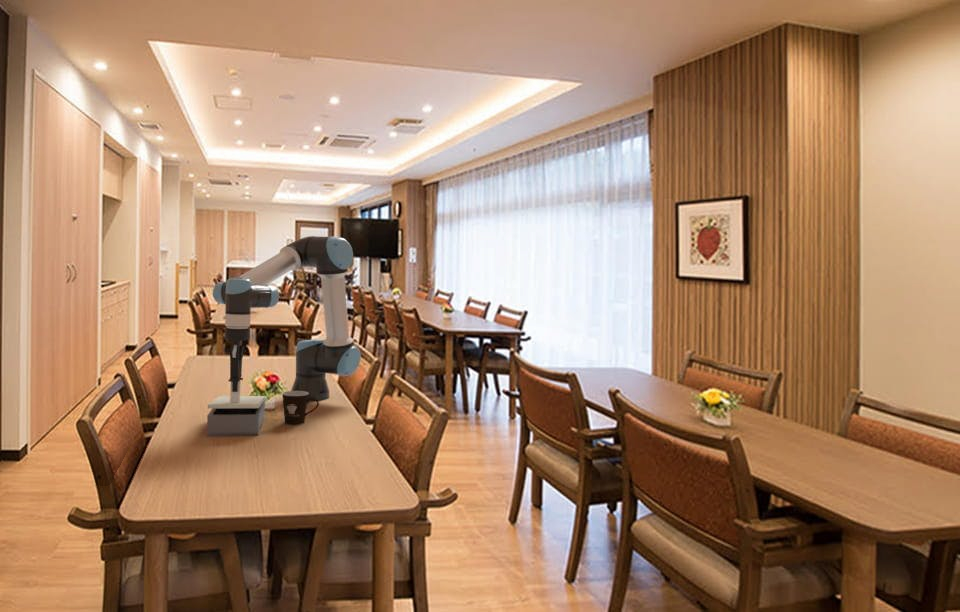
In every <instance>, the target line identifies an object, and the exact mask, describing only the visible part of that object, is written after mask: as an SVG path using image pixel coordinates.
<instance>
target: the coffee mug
mask: <svg viewBox="0 0 960 612" xmlns="http://www.w3.org/2000/svg"><path fill="white" fill-rule="evenodd" d="M281 394H282V403H283V415H284V416H283V417H284V423H285V424H286V425H289V426H290V425H293V426H294V425H295V426H296V425H302V424H305V421H306V417H307V415H309V414H310V413H313V412H314V411H315V410H317V408H318V407H319V405H320V403H319V400H317V399H316V398H310V399H308V394H309V393H308V392H305V391H291V390H289V391H283V392H282V393H281ZM312 399H313V400H312ZM310 401H315V402H316V406H315V407H314V408H313V409H311V410H310V411H308V412H307V408H308V407H307V406H308V404H309V402H310Z"/></svg>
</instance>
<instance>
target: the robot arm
mask: <svg viewBox="0 0 960 612" xmlns="http://www.w3.org/2000/svg"><path fill="white" fill-rule="evenodd" d="M353 261H354V252H353V248H352V245H351V244H350V242H349V241H348V240H346V239H345V238H344V237H338V236H337V237H336V236H315V235H312V236H306V237H305V236H304V237H302V238H299V239H297V240H294V241H292V242H290V243H289V244H287V245H285V246H283V247H282V248H280V250H279V253H277V254H275V255H274V256H272V257H270V258H268V259H266V260H265V261H263V262H261V263H259V264H258V265H256V266H255V267H253V268H251V269H249V270H248V271H246V272H244V273H243V274H241V275H240V276H237V277H236V278H233V277H231V278H228V279H227V280H226V281H221V282H218V283H216V284H215V285H214V287H213V289H212V297H213V299H214V301H215V303H218V304H220V305H224V307H225V316H223V317H222V319H223V320H225V321H224V326H225V328H224V337H223V338H224V340H226V341H231V344H230V345H229V349H228V350H229V365H230V366H229V379H228V382H230V395H229V396H230V402H239V401H240V396H241V384H242V383H241V381H243V380H244V378H243V377H242V367H243V358H244V350H245V345H243V341H249V340H250V336H251V329H250V327H251V319H252V318H251V316H252V315H251V310H252V309H260V308H261V309H262V308H264V309H268V308H272V307H273V308H274V307H275V306H276V305H277V304H278V303H279V299H280V293H279V290H278V289H277V287H276V286H275V285H272V284H271V283H272V282H274V281H276V280H277V279H279V278H280V277H282V276H285V274H287V273H289V272H290V271H297V270H299V269H300V268H307V267H310V268H316V269H315V270H316V275H317V276H319V277H320V279H321V291H322V302H323V314H324V325H325V336H326V338H317V339H316V338H314V339H305V340H300V341H298V342H297V344H296V349H295V350H296V351H295V379H294V381H293V384H292V387H291V390H290V391H305V392H308V393H309V394H308V399H310V398H316V399H317V400H318V401H320V400H326V399H328V398H330V388H329V385H328V381H327V378H326V374H331V375H337V376H340V377H341V376H347V377H348V376H351V375H352V374H354V373H355V372H356V371H357V369H358V367H359V365H360V363H361V358H362V357H361V356H362V355H361V350H360V349H359V347H357V346H356V345H354V344H355V343H354V338H352V337H351V336H350V333H349V331H350V329H349V320H348V309H347V295H346V285H345V284H346V283H345V276H346V274H347V273H349V272H348V271H349V270H348V269H349V268H350V267H351V266H352V265H353ZM311 401H314V400H313V399H312V400H311Z"/></svg>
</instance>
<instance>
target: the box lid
mask: <svg viewBox="0 0 960 612" xmlns="http://www.w3.org/2000/svg"><path fill="white" fill-rule="evenodd" d="M264 400H265V401H266V396H265V395H240V401H239V402H230V395H221V396H220V395H219V396H217V397H216V398H214V399H213V400H212V401H211V402H209V403H208V404H207V409H212V408H259V407H260V406H261V404H262V403H263V402H264Z"/></svg>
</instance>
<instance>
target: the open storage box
mask: <svg viewBox="0 0 960 612" xmlns="http://www.w3.org/2000/svg"><path fill="white" fill-rule="evenodd" d="M265 404H266V399H265V400H264V402H263V403H262V404H261V406H260V407H259V408H211V409H210V412H209V413H208V414H207V420H206V422H207V423H206V424H207V425H206V428H207V429H206V436H207V437H238V436H239V437H241V436H243V437H244V436H245V437H246V436H248V437H250V436H253V437H255V436H259V435H260V432H261V429H262V427H263V424H264V421H265V415H266V414H265V411H266V407H265V406H266V405H265Z"/></svg>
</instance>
